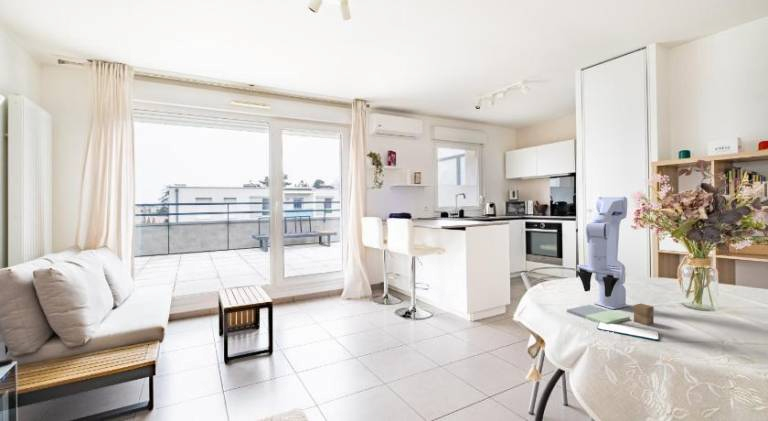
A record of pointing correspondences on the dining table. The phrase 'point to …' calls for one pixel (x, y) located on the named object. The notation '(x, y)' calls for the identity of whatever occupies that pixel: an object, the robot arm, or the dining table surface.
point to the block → (644, 314)
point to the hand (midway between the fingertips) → (597, 293)
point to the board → (598, 314)
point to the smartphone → (629, 331)
